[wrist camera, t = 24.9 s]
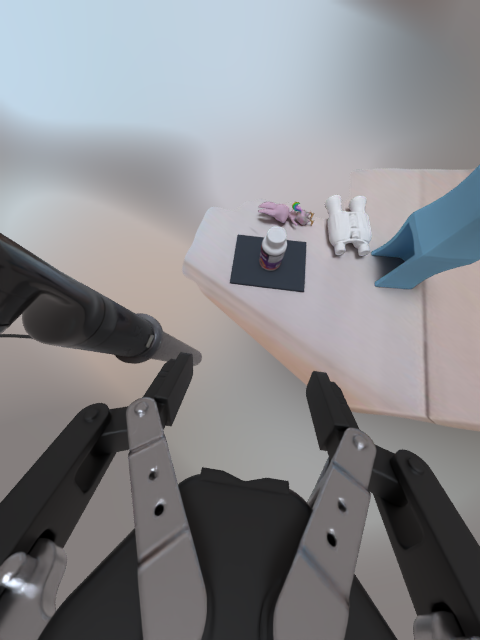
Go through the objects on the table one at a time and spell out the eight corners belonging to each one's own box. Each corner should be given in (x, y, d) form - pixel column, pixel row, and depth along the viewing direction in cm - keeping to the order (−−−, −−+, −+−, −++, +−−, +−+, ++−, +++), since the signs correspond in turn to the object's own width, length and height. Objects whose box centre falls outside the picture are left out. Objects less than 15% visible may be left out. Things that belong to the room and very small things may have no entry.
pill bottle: (257, 253, 48) (261, 224, 38) (278, 251, 48) (287, 221, 38) (260, 272, 46) (266, 246, 37) (282, 270, 46) (293, 244, 37)
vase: (416, 289, 45) (614, 195, 21) (375, 286, 46) (525, 189, 22) (409, 254, 48) (579, 136, 24) (371, 251, 48) (500, 131, 24)
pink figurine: (308, 216, 53) (257, 204, 51) (320, 198, 47) (263, 184, 46) (308, 234, 51) (255, 223, 50) (321, 217, 46) (261, 204, 44)
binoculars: (359, 209, 52) (370, 193, 48) (368, 258, 48) (381, 246, 43) (321, 207, 52) (329, 192, 48) (326, 257, 48) (335, 245, 43)
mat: (230, 283, 46) (229, 282, 45) (237, 236, 50) (237, 234, 49) (303, 292, 45) (304, 291, 45) (305, 243, 49) (306, 242, 48)
